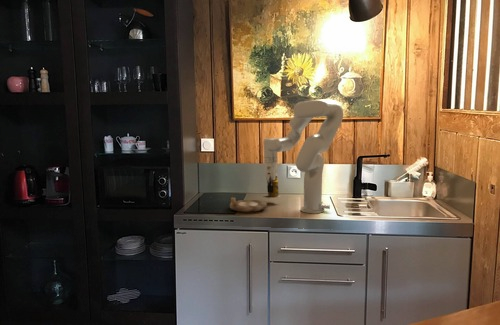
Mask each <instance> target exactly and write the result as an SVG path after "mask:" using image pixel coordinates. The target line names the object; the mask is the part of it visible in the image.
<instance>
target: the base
mask: <svg viewBox="0 0 500 325" xmlns="http://www.w3.org/2000/svg"><path fill="white" fill-rule="evenodd" d="M239 212H241V213H256V212H257V211H239Z"/></svg>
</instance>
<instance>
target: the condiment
mask: <svg viewBox="0 0 500 325" xmlns="http://www.w3.org/2000/svg"><path fill="white" fill-rule="evenodd" d="M270 180H272V179H270ZM272 185H273V192H268V191H267V195H263V196H262V197H263V198H266V199H272V198H273V199H274V198H280V197H282V196H281V195H279V194H280V193H279V180H278V178H277V176H276V179H275V180H273V183H272Z"/></svg>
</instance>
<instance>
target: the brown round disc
mask: <svg viewBox="0 0 500 325" xmlns="http://www.w3.org/2000/svg"><path fill="white" fill-rule="evenodd" d="M236 199H237V198H236V197H231V198H230V203H229V209H230V210H233V211H236V212H240V211H256V212H258V211H264V210H265V209H267V202H266V201H263V200H257V199H243V200H242V199H241V200H236Z"/></svg>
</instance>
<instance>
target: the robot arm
mask: <svg viewBox="0 0 500 325" xmlns="http://www.w3.org/2000/svg"><path fill="white" fill-rule="evenodd" d="M292 113H293V117H291V119H290V120H289V123H288V124H289V126H290V128H291V129H290V131H289V132H288V134H287V135H286V136H284V137H278V138H273V137H272V138H271V137H267V138H264V139H263V142H262V143H263V160H264V161H263V163H264V164H265V180H266V188H267V189H266V190H267V193H268V192H273V185H272V183H273V180H275V179H276V176H277V179H278V178H279V175H278V165H277V163H278V153H279V152H280V153H281V152H285V151H291V150H292V149H293V148H294V147H295V146H296V145H297V144H298V143H299V141H300V140H301V137H302V133H303V131H304V130H305V128H306V127H307V126H308V125H309V123H310V122H312V120H313V119H314V118H323V117H324V118H325V120H324V121H323V122H322V124H321V125H320V128H319V130H318V132H317V133H316V134H313V135H309V136H308V137H306V139H304V141H303V143H302V145H301V148H300V149H299V152H298V155H297V156H296V159H295V166H296V168H297V170H298V171H300V172H302V173H304V176H303V206H301V207H300V211H301V212H303V213H306V214H321V213H324V212H325V210H326V209H327V210H330V209H331V205H330V204H324V202H323V199H322V197H323V194H322V192H323V172H324V171H323V170H324V166H325V160H324V156H323V155H322V154H321V153H325V152H327V151H329V149H330V147H331V144H332V143H333V141H334V138H335V137H336V134H337V133H338V131H339V128H340V126H341V124H342V122H343V119H344V110H343V107H342V105H341V103H340V102H338V101H337V100H335V99H316V100H314V99H313V100H306V101H299V102H297V103H296V104H295V105H294V107H293V112H292ZM270 179H272V180H270Z"/></svg>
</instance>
